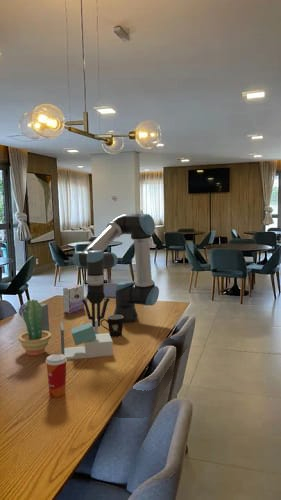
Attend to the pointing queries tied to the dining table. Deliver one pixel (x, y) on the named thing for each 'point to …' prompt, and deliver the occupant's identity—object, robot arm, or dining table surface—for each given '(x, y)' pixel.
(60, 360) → the paper cup
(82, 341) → the carton
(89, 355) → the display stand
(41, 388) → the dining table surface
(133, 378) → the dining table surface
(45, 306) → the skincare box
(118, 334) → the coffee mug
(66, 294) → the candy box
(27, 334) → the potted cactus
